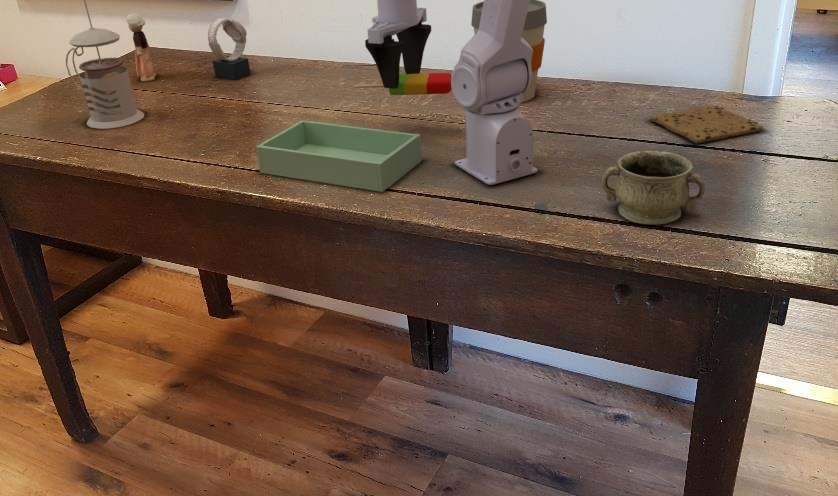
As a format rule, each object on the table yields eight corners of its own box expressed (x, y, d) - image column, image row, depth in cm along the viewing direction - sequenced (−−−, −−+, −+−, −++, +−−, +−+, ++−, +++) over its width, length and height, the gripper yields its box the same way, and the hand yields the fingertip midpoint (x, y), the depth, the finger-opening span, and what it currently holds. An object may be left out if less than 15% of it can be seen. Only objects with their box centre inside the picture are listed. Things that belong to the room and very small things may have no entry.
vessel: (593, 221, 96) (597, 172, 93) (606, 192, 103) (609, 145, 100) (698, 232, 92) (705, 182, 89) (703, 201, 99) (710, 153, 96)
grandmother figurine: (138, 75, 164) (122, 11, 157) (157, 72, 165) (142, 8, 158) (138, 85, 158) (122, 18, 151) (158, 82, 158) (143, 16, 152)
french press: (121, 130, 134) (79, -28, 121) (65, 126, 138) (19, -29, 125) (155, 111, 142) (120, -40, 129) (102, 108, 146) (62, -39, 133)
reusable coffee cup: (543, 106, 133) (546, 13, 125) (468, 106, 135) (466, 14, 127) (546, 84, 144) (548, -4, 136) (476, 84, 146) (475, -2, 138)
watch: (257, 71, 161) (248, 15, 156) (228, 82, 156) (218, 24, 150) (237, 68, 164) (228, 13, 158) (208, 79, 159) (197, 21, 153)
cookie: (712, 107, 128) (713, 101, 127) (764, 130, 118) (765, 124, 118) (647, 119, 125) (648, 113, 124) (695, 144, 115) (696, 137, 114)
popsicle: (451, 94, 119) (451, 81, 118) (351, 97, 120) (350, 85, 119) (453, 84, 124) (452, 71, 123) (357, 87, 125) (356, 75, 124)
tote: (421, 161, 116) (420, 134, 113) (382, 192, 107) (380, 164, 105) (305, 145, 124) (302, 120, 122) (260, 172, 115) (255, 146, 113)
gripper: (395, -24, 121) (401, 66, 128) (345, -5, 110) (355, 92, 118) (437, -23, 118) (441, 69, 125) (390, -3, 108) (397, 96, 115)
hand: (402, 80), depth 121 cm, fingers closed on popsicle, 6 cm apart
